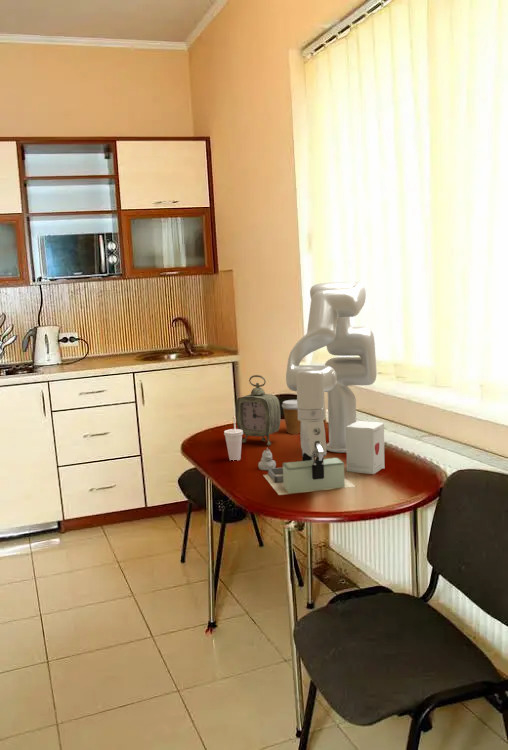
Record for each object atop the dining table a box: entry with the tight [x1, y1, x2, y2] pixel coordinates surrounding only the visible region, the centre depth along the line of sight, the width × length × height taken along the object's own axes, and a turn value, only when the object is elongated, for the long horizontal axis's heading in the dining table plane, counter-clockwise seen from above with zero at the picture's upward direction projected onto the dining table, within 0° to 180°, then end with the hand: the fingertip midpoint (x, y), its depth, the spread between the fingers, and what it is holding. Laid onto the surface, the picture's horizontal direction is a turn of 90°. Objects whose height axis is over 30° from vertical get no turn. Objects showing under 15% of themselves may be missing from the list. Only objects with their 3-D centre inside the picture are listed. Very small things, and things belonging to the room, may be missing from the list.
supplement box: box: [346, 420, 385, 475], centre depth 212 cm, size 9×9×15 cm
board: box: [262, 474, 356, 496], centre depth 204 cm, size 22×20×1 cm
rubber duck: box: [258, 447, 277, 471], centre depth 219 cm, size 5×7×8 cm
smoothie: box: [223, 417, 244, 462], centre depth 235 cm, size 6×6×14 cm
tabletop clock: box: [235, 374, 281, 447], centre depth 255 cm, size 14×9×25 cm, turn 56°
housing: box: [282, 457, 345, 494], centre depth 197 cm, size 16×6×7 cm, turn 102°
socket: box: [267, 466, 283, 483], centre depth 208 cm, size 9×9×2 cm
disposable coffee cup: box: [281, 399, 301, 435], centre depth 270 cm, size 10×10×12 cm
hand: (313, 474), depth 197 cm, fingers open, 9 cm apart
